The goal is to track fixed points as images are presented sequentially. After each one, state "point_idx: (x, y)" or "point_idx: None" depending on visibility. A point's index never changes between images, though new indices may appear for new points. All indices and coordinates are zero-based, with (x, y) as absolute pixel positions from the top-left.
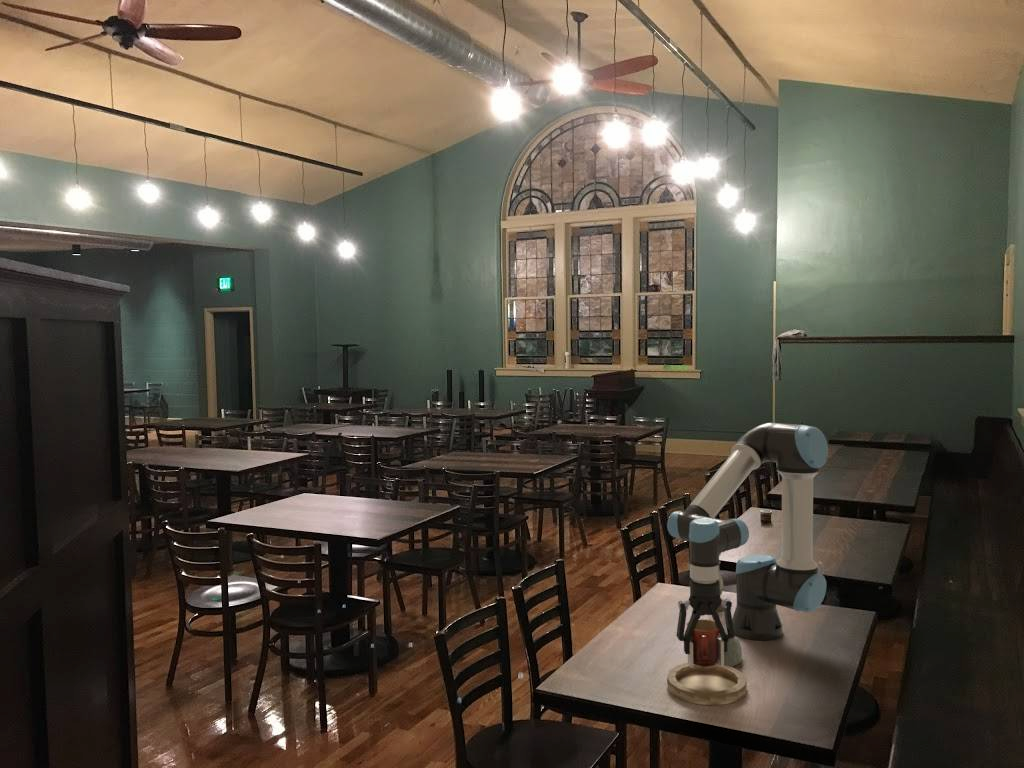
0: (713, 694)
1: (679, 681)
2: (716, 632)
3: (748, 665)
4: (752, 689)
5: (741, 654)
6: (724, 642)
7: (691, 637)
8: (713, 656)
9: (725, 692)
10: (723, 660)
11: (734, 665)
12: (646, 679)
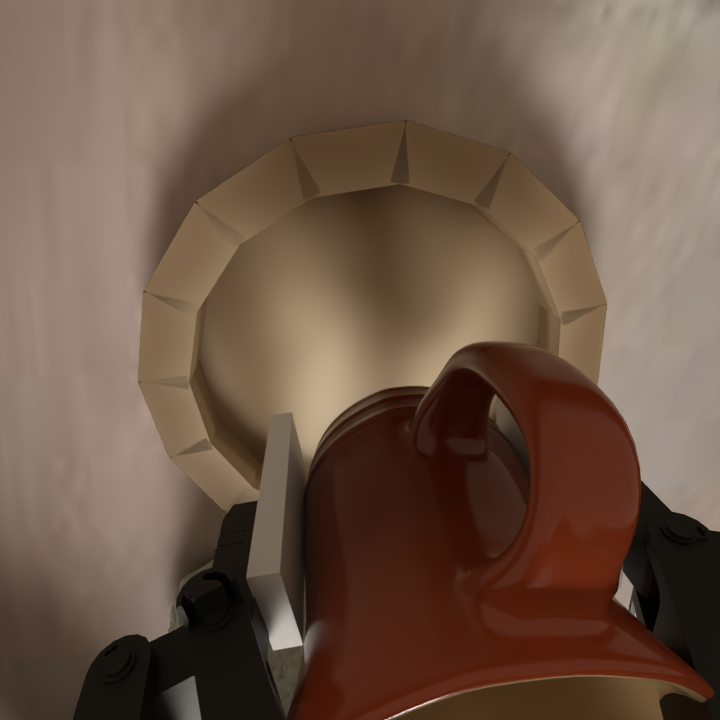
0: (378, 130)
1: None
2: (340, 685)
3: (149, 575)
4: (125, 350)
5: (169, 629)
6: (239, 580)
7: (664, 574)
8: (357, 441)
9: (288, 165)
10: (271, 440)
11: (212, 560)
12: (633, 424)
